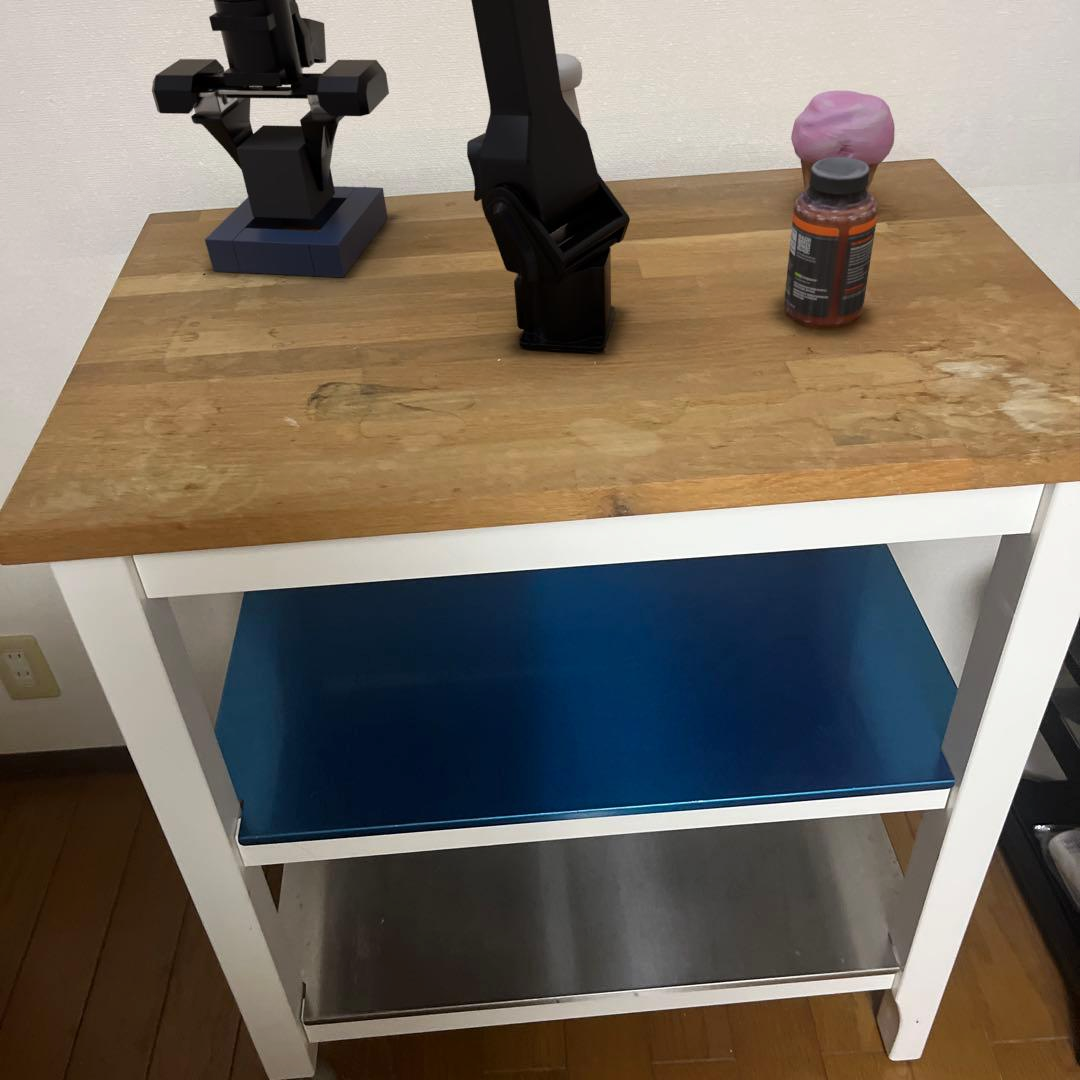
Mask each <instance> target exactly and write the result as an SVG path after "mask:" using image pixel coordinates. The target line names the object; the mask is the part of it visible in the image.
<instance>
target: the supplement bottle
mask: <svg viewBox="0 0 1080 1080" xmlns="http://www.w3.org/2000/svg"><path fill="white" fill-rule="evenodd" d="M869 172H870V169H869V166H868V165H867V164H866V163H864V162H862V161H860V160H857V159H853V158H845V157H834V158H826V159H823V160H820V161H817V162H816V163H815V164H814V165H812V169H811V177H810V182H809V184H810V187H809V188H808V189H807V190H806V191H805V190H804V191H802V192H801V193H800V194H799V195H798V197H797V198H796V200H795V202H794V205H793V211H792V221H791V229H790V230H791V231H790V239H789V241H790V242H789V250H788V259H787V260H788V261H787V268H786V269H787V271H786V280H785V289H784V302H783V304H784V305H783V307H784V310H785V313H786V314H787V316H789V317H790V318H791V319H792V320H794V321H795V322H797V323H800V324H803V325H805V326H811V327H815V328H835V327H842V326H845V325H847V324H849V323H852V322H854V321H855V320H857V319H858V318H859V317H860V315H861V314H862V312H863V308H864V303H865V298H866V291H867V286H868V285H867V284H868V278H869V271H870V266H871V265H870V264H871V260H872V252H873V246H874V240H875V232H876V227H877V219H878V210H879V207H878V201H877V200H876V198H875V196H874V195H873V194H872V193H871V192H869V190H868V191H866V188H867V186H868V184H869V182H868V178H869Z"/></svg>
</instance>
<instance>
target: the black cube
mask: <svg viewBox="0 0 1080 1080" xmlns="http://www.w3.org/2000/svg"><path fill="white" fill-rule="evenodd" d="M237 153H238V157H239V162H240V166H241V169H240V170H241V173H242V177H243V181H244V187H245V190H246V194H247V198H249V202H250V206H251V210H252V214H253V217H263V218H291V219H313V218H314V217H315V216H316V215H317V214H318V213H319V211H320V210H321V209H322V208H323V207H324V206H325V205H326V204H327V202H328V201H329V200H330V199H331V198H332V197H333V196H334V194H335V190H334V180H333V179H334V178H333V176H332V175H333V174H332V170H331V168H330V170H329V177H328V184H327V187H326V189H325V190H324V191H319V189H318V187H317V184H316V182H315V179H314V176H313V173H312V169H311V165H310V160H309V156H308V152H307V148H306V144H305V140H304V136H303V131H302V127H301V125H266V124H265V125H264V124H263V125H262V126H261V127H260V128H258V129H257V130H256V131H255V132H253V135H251V136H250V137H249V138H248V139H247V140H246V141H245V142H243V143H242V144H241V145H240V146H239V147H238V148H237Z"/></svg>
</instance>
